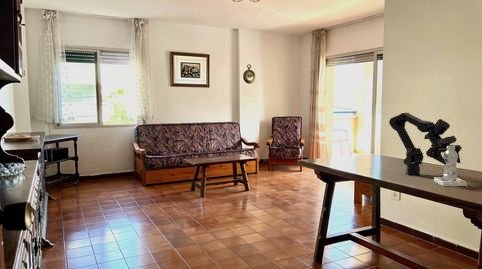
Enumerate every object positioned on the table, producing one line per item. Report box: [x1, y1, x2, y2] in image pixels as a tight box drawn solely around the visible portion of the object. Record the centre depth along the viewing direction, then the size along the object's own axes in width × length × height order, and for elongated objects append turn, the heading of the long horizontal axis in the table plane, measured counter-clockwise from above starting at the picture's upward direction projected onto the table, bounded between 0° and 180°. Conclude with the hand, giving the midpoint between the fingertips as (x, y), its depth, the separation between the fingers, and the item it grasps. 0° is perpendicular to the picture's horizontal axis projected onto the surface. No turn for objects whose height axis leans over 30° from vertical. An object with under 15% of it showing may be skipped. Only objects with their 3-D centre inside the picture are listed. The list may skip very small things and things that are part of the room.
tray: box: [433, 176, 468, 188], centre depth 183 cm, size 12×11×2 cm
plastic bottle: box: [442, 144, 458, 182], centre depth 182 cm, size 6×7×20 cm
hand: (452, 163), depth 181 cm, fingers open, 9 cm apart
